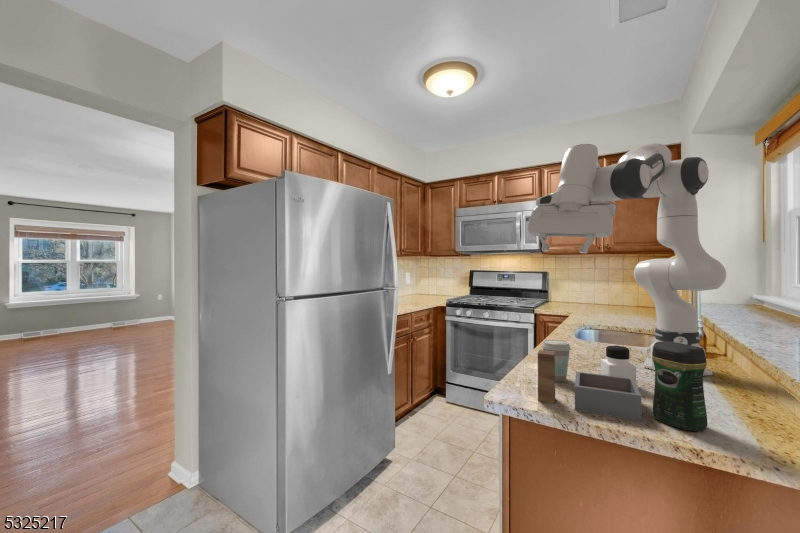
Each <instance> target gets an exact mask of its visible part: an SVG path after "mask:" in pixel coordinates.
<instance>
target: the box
mask: <svg viewBox="0 0 800 533" xmlns="http://www.w3.org/2000/svg"><path fill="white" fill-rule="evenodd" d="M574 379H575V380H574V410H575V411H578V412H579V411H580V412H585V413H589V414H590V413H591V414H597V415H604V416H608V417H609V416H610V417H612V418H613V417H614V418H620V419H625V420H632V421H639V422H642V394H641V392H640V389H639V387H638V385H637V381H636V382H635V379H633V378H625V377H617V376H609V375H601V373H591V372H585V371H584V372H583V371H576V372H575V378H574Z"/></svg>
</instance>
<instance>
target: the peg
mask: <svg viewBox="0 0 800 533" xmlns="http://www.w3.org/2000/svg"><path fill="white" fill-rule="evenodd" d="M537 401H538V402H541V403H543V402H544V403H549V404H552V405H553V404H554V405H555V401H556V382H555V351H545V350H543V349H539V350H538V352H537Z"/></svg>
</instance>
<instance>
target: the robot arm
mask: <svg viewBox="0 0 800 533" xmlns="http://www.w3.org/2000/svg"><path fill="white" fill-rule="evenodd" d="M598 149H599V148H598V146H597V145H595V144H593V143H592V144H591V143H581V144H578V145H574V146H570V148H568V149H567V151H566V152H565V154H564V156H563V159H562V162H561V167H560V170H559V176H558V177H559V178H558V179H559V183H558V186H557V188H556V191H554V192H551V193H550V194H546V195H543V196H540V197H538V198H536V200H535V204H536V207H535V208H534V209H533V210H532V212H531V214H530V217H529V221H528V224H527V231H528V232H529V233H530V234H531V236H533V237H539V239H540V240H539V241H541V251H542V252H549V251H550V247H551V245H550V244H549V243H547V241H546V240H548V237H564V238H565V237H569V238H573V237H574V238H575V237H577V238H580V237H581V238H586V241H585V243H584V244H579V253H580V254H588V251H589V248H590V247H591V246H592V244H594V242H595V240H596V238H609V237H610V236H611V235H612V234H613V229H614V228H613V223H614V222H613V217H614V216H615V215H616V213H617V212H616V211H617V205H616V203H615V201H623V200H633V199H637V200H646V199H648V198H649V199H651V198H659V201H658V205H657V206H658V207H657V213H656V216H657V217H656V239H657V242H658V243H659V244H661V246H664V247H665V248H668V249H671V250H672V251H673V252H674V255H675V258H674V257H673V258H671V257H670V258H652V259H651V258H650V259H646V260H640V261H639V262H638V263H637V264H636V265H635V267H634V268H633V269H634V270H633V278H634V281H635V282H636V283H637V285H638V286H640V287H641V288H643V289H644V290H645V291H646V292H647V293H648V295H649V296H650V297H651V300H652V302H653V304H654V307H655V315H656V316H655V318H656V320H655V321H656V327H655V328H654V338H655V340H654V342H652V344H650V346H647V347H646V353H647V354H648V356H646V359H645V361H644V363H643V366H644V367H643V368H645V367H646V368H645V369H648V368H649V369H650V370H654V371H655V366H654V362H653V360H652V352H653V346H654V344H655V343H656V342H664V341H669V342H676V343H682V344H686V345H691V346H696V347H701V348H703V347H702V346H701V345H700V344H699V343H700V338H701V336H700V331H698V311H697V309H696V307H695V306H694V305H693V304H692V303H690V302H688V301H686V300H684V299H682V298H681V297H680V295H679V293H678V291H692V292H693V291H695V292H702V291H704V292H705V291H711V290H717V289H719V288H720V287H722V286H723V285H724V283H725V281H726V278H727V270H726V267H724V265H723V263H722V262H720V261H719V260H718V259H716V258H714V257H712V256H711V255H710V254H709V253H708V252H706V251H707V250H705V248H704V247H703V245H702V244H701V242H700V236H699V224H698V223H699V211H698V202H697V197H696V195H697V194H698V192H699V191H700V190H701V189H702V188H704V186H705V185H706V183H707V182H708V180H709V173H710V171H709V170H710V169H709V167H708V164H707V162H706V160H704V159H703V158H702V157H697V156H691V157H686V158H682V159H675V160H674V159H673V160H672V151H671V150H670V148H669V147H668V146H666V145H665V144H662V143H648V144H644V145H639V146H637V147H635V148H633V149H631V150H629V151H627V152H625V153H624V154H623V155H622V156H621V157H620V158H619V160H618V162H617V163H614V164H610V165H606V166H602V167H601V165H600V164H599V150H598ZM703 350H704V351H705V352H706V349H704V348H703ZM705 357H706V358H707V356H706V354H705ZM713 375H714V374H713V371H712V370H709V369H708V368H707V367H706V368H705V370H704V373H703V377H704V376H713Z"/></svg>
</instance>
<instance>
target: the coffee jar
mask: <svg viewBox="0 0 800 533" xmlns="http://www.w3.org/2000/svg"><path fill="white" fill-rule="evenodd" d="M701 347H702V346H701ZM701 347H696V346H691V345H686V344H682V343H676V342H669V341H664V342H656V343H655V344H654V346H653V352H652V360H653V362H654V366H655V370H654V388H653V389H654V390H653V391H654V392H653V399H652V400H653V401H652V416H653V417H654V418H655V420H658V421H660V422H662V423H664V424H667V425H669V426H672V427H674V428H678V429H681V430H684V431H695V432H701V431H703V430H705V429H706V428H708V415H707V414H708V413H707V408H706V407H707V406H706V400H705V398H706V397H705V390H704V376H703V373H704V370H705V368H706V369H707V363H708V362H707V356H706V357H705V355H706V350H705V351H704V350H703V349H704V347H702V348H701Z"/></svg>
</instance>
